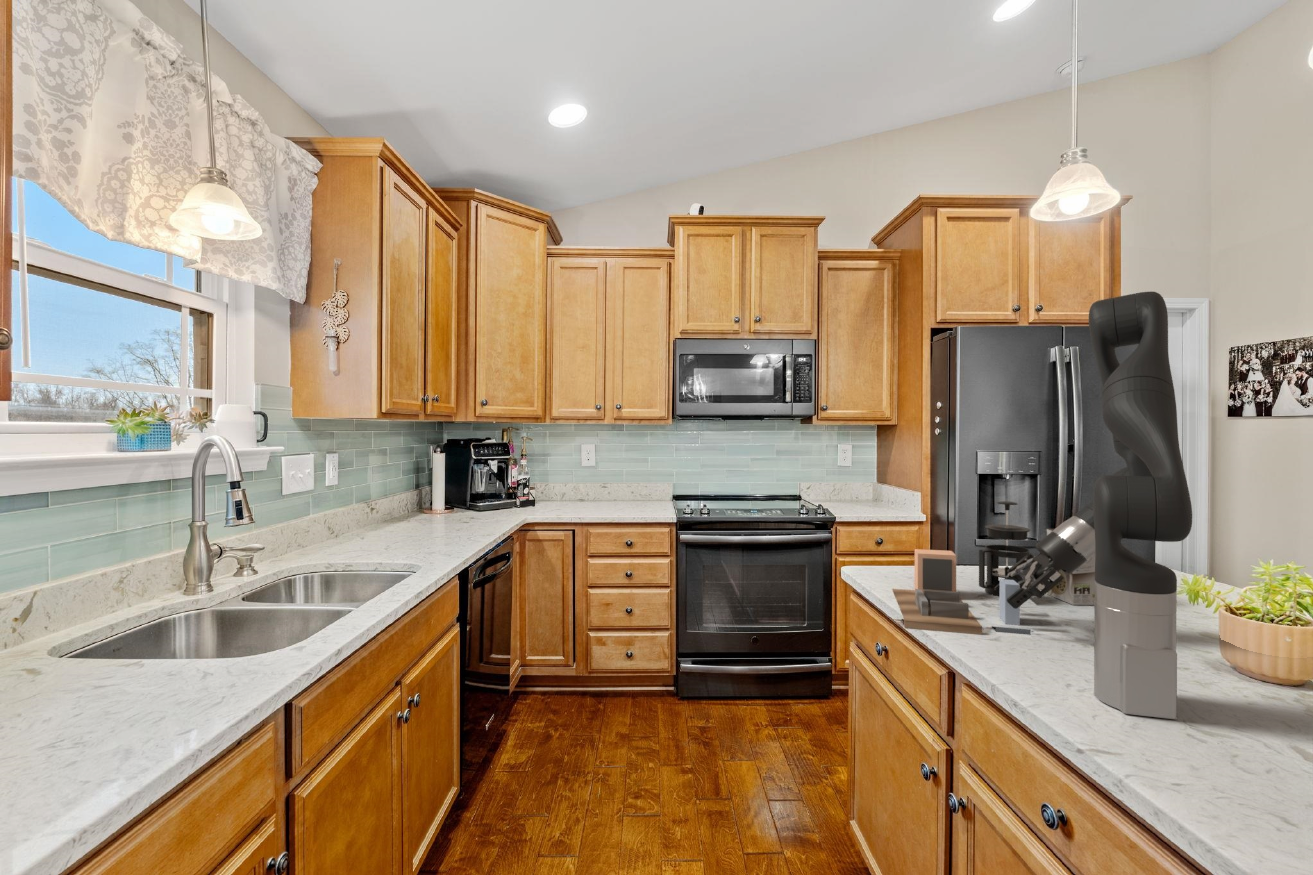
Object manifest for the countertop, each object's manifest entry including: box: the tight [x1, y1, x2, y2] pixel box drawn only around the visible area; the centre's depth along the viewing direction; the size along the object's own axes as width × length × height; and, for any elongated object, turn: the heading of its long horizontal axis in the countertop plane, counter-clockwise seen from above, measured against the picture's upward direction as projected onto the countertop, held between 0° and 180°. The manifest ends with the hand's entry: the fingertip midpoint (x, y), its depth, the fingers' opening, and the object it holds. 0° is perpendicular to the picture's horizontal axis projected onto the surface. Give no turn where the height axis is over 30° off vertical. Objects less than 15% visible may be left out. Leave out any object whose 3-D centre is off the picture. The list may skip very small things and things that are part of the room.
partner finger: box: [914, 548, 957, 593], centre depth 133 cm, size 6×8×10 cm
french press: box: [978, 500, 1031, 598], centre depth 135 cm, size 12×9×23 cm
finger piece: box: [991, 578, 1032, 636], centre depth 115 cm, size 5×6×10 cm
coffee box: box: [1046, 528, 1095, 606], centre depth 134 cm, size 9×6×16 cm
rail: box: [891, 588, 983, 635], centre depth 126 cm, size 24×14×4 cm, turn 163°
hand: (1003, 598), depth 116 cm, fingers open, 8 cm apart
